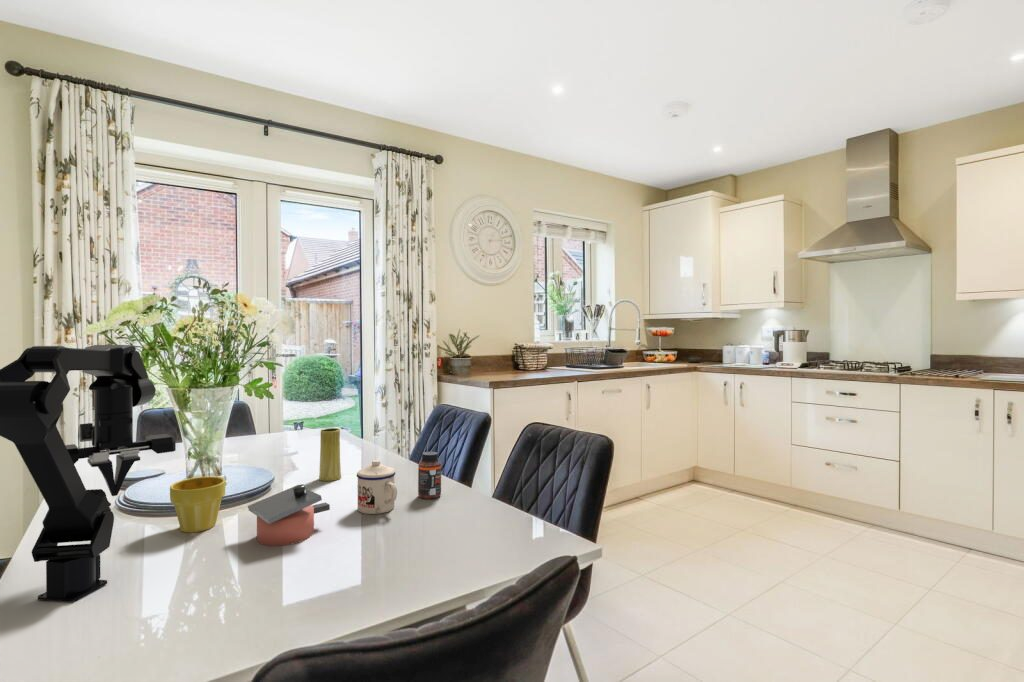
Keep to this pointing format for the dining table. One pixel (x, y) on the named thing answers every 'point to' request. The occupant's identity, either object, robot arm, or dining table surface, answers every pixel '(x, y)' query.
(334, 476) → the vase
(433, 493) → the supplement bottle
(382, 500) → the teacup with lid
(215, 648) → the dining table surface
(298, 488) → the lid
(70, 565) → the robot arm
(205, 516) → the plant pot
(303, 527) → the cooker pot
